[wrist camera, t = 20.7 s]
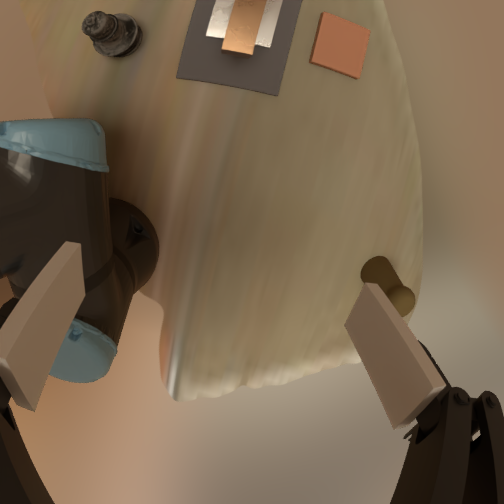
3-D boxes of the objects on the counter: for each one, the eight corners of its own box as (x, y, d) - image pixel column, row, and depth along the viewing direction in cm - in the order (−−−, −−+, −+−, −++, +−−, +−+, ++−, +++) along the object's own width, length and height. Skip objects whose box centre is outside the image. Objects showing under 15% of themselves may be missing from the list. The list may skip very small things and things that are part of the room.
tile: (311, 61, 31) (323, 11, 28) (307, 62, 33) (319, 14, 29) (359, 78, 33) (370, 30, 29) (354, 79, 34) (365, 32, 31)
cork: (376, 250, 48) (409, 286, 38) (395, 265, 50) (426, 301, 40) (354, 276, 50) (381, 316, 40) (373, 289, 52) (400, 328, 42)
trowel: (263, 69, 32) (277, 60, 24) (200, 57, 30) (195, 45, 23) (288, -23, 25) (306, -50, 18) (228, -36, 24) (232, -66, 16)
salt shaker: (94, 47, 28) (51, 34, 17) (121, 13, 26) (88, -14, 15) (124, 66, 30) (88, 56, 19) (153, 31, 28) (128, 6, 18)
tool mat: (176, 78, 32) (176, 77, 31) (217, -56, 22) (217, -58, 21) (276, 96, 34) (277, 95, 34) (310, -36, 24) (311, -37, 24)
